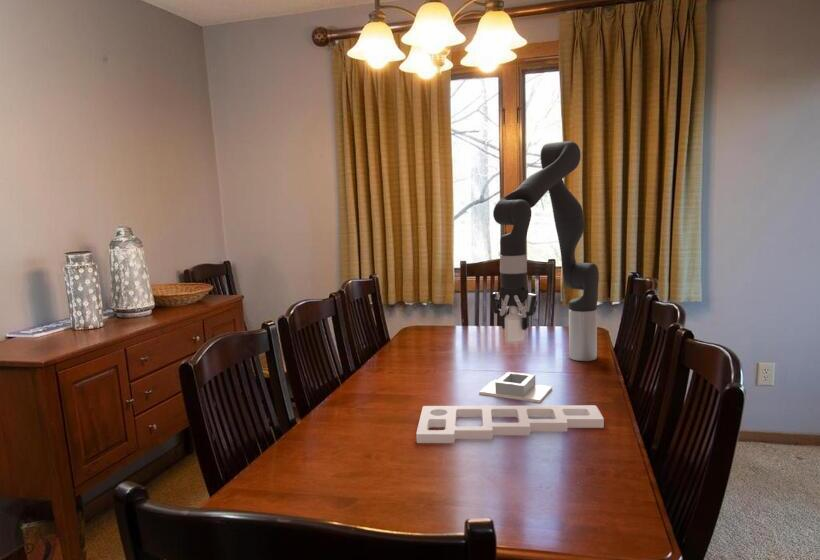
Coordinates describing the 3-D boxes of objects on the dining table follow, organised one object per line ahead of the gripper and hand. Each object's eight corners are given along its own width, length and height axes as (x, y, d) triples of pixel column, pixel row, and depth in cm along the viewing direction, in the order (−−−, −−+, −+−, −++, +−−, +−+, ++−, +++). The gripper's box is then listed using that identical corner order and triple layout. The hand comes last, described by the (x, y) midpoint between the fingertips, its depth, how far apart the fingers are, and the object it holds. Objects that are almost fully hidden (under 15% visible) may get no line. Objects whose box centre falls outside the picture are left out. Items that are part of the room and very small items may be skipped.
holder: (596, 415, 142) (596, 405, 142) (613, 446, 124) (613, 434, 124) (423, 415, 147) (423, 405, 147) (416, 444, 130) (416, 434, 129)
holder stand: (494, 381, 170) (494, 369, 170) (552, 389, 161) (551, 376, 160) (479, 394, 160) (478, 380, 159) (539, 402, 151) (539, 388, 150)
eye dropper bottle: (523, 344, 155) (522, 302, 154) (504, 343, 157) (503, 302, 156) (526, 340, 159) (525, 300, 158) (506, 339, 161) (505, 299, 160)
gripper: (542, 269, 155) (543, 327, 157) (494, 268, 162) (496, 324, 165) (534, 273, 149) (535, 333, 151) (484, 271, 156) (486, 330, 158)
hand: (514, 328), depth 158 cm, fingers closed on eye dropper bottle, 5 cm apart
